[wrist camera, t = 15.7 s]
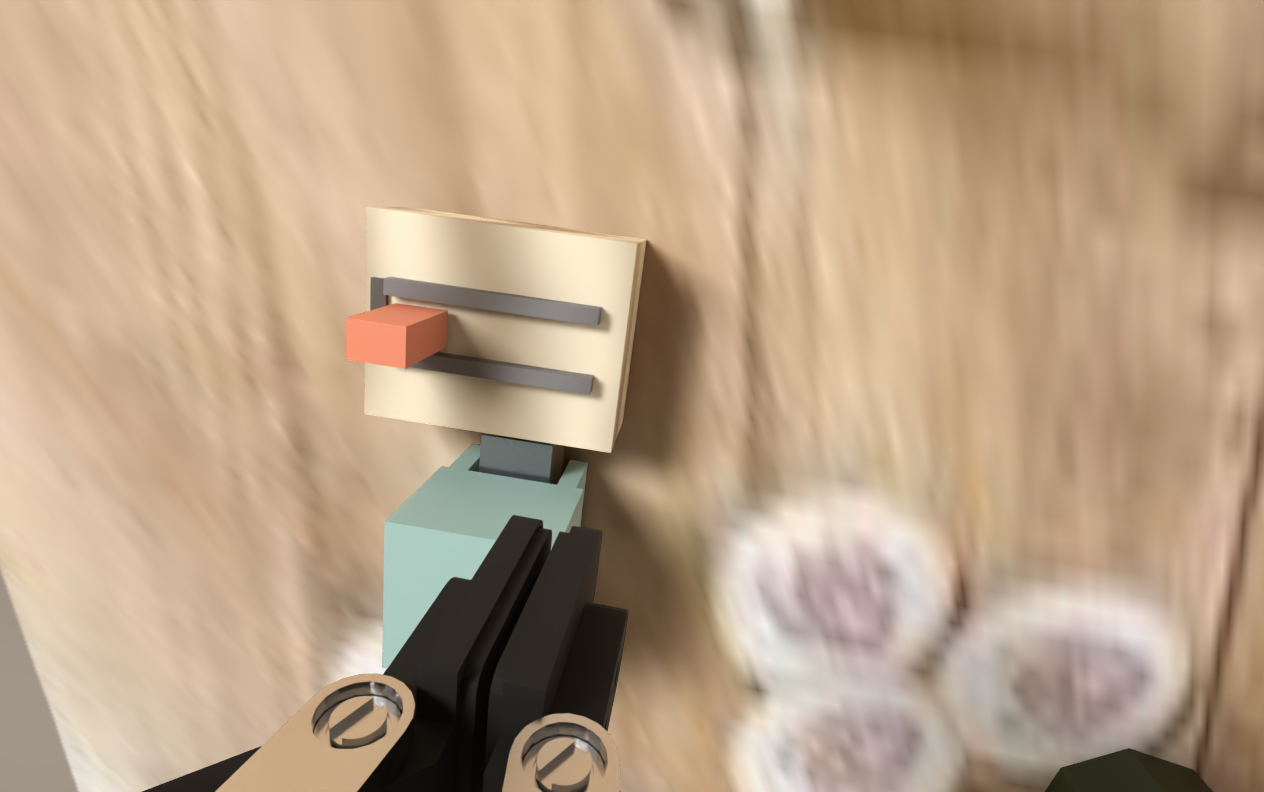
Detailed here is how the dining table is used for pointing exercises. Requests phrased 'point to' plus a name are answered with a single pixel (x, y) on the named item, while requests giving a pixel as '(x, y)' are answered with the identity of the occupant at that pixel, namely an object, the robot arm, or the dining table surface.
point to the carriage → (461, 533)
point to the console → (507, 324)
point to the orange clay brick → (396, 335)
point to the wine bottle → (1127, 775)
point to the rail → (521, 458)
